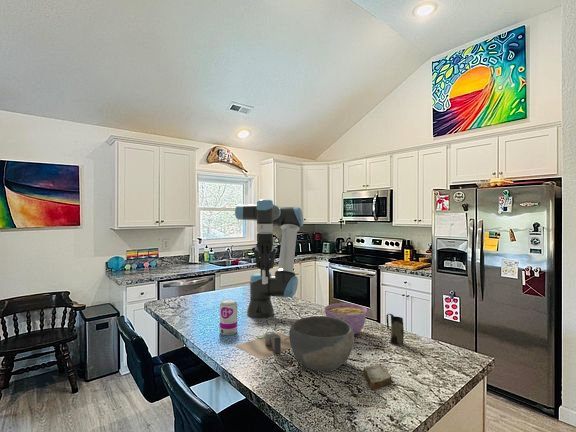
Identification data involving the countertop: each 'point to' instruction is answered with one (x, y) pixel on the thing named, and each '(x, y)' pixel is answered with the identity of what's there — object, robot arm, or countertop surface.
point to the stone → (376, 377)
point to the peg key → (273, 341)
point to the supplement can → (228, 317)
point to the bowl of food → (348, 314)
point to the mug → (396, 330)
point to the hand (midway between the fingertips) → (264, 283)
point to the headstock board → (264, 346)
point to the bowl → (321, 342)
